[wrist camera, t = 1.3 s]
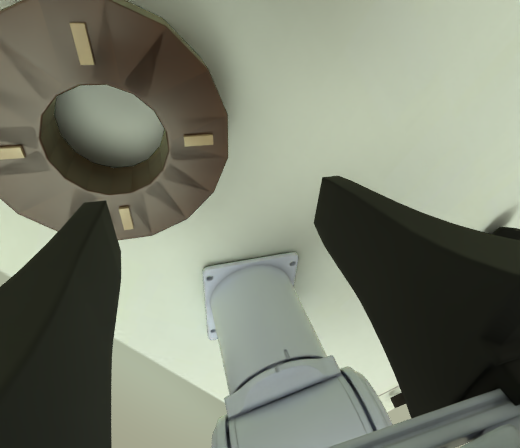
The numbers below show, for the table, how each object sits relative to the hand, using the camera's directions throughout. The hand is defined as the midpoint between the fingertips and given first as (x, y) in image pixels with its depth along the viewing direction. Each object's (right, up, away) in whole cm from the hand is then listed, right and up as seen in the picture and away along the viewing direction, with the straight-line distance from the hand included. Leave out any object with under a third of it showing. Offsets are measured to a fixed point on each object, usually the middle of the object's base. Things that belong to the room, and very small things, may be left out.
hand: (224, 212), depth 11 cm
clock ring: (-7, +5, +6) cm, 10 cm away
